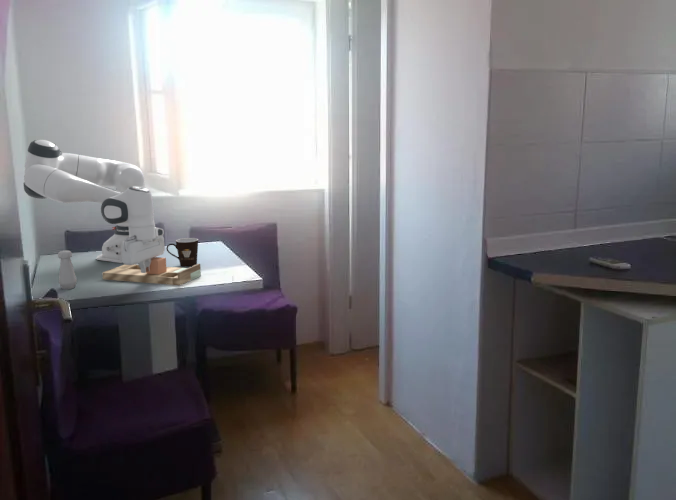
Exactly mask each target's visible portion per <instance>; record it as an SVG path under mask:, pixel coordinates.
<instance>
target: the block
mask: <svg viewBox="0 0 676 500" xmlns="http://www.w3.org/2000/svg"><path fill="white" fill-rule="evenodd" d="M149 267H150V271H149V272H146V273H148V274H161V273H164V272H166V271H167V269H166V267H167V258H166V257H159V256H156V257H154V258H151V264H150V266H149Z"/></svg>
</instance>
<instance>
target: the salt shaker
mask: <svg viewBox="0 0 676 500" xmlns="http://www.w3.org/2000/svg"><path fill="white" fill-rule="evenodd" d="M72 255H73V253H72V251H70V250H67V249H66V250H60V251H59V252H58V253H57V256H58V257H57V258H59V260H60V262H59V263H60V265H59V273H58V284H59V285H60V287H61V289H62V290H72V289H74V288H76V285H77V282H78V279H77V276H76V272H75V270H74V266H73V263H72V260H71V258H72V257H73V256H72Z"/></svg>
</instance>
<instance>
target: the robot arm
mask: <svg viewBox="0 0 676 500" xmlns="http://www.w3.org/2000/svg"><path fill="white" fill-rule="evenodd" d="M23 180H24V182H23V191H24V192H25V193H26V195H28V196H29V197H31V198H35V199H48V200H51V201H52V202H53V201H54V202H56V203H57V202H58V203H62V204H76V203H85V202H86V203H88V202H89V203H98V204H101V206H100V213H101V217H102V218H103V220H104V221H106V222H107V223H108V224H111V225H115V226H112V227H111V230H112V231H114V234H113V235H112V236H110V237H109V238H108V239H107V240H106V241H104V242H103V244H102V247H101V254H99V255H97V256H96V260H97V261H98V260H99V261H105V262H113V263H118V264H123V265H139V267H140V268H141V273H146V272H149V271H150V267H149V266H150V264H151V258H154V257H159V256H162V255H164V253H165V250H166V248H165V238H164V234H165V231H164V229H163V228H161V227H156V223H155V222H156V221H155V220H154V213H155V208H154V206H155V205H154V199H153V196H152V195H153V194H152V192H151V190H150V189H149V188H146V187H145V174H144V172H143V170H142V169H141V168H140V167H139V166H137V165H135V164H132V163H130V162H124V161H119V160H111V159H107V158H106V159H105V158H100V157H94V156H88V155H83V154H77V153H69V152H62V151H61V150H60V148H59V147H58V145H57V144H56V143H54V142H52V141H49V140H47V139H35V140H33V141H31V142H30V143H29V146H28V148H27V155H26V159H25V163H24V176H23Z"/></svg>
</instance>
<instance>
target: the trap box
mask: <svg viewBox="0 0 676 500" xmlns="http://www.w3.org/2000/svg"><path fill="white" fill-rule="evenodd" d="M166 269H167V271H166V272H164V273H161V274H148V273H141V268H140V267H139V265H138V264H134V265H124V264H122V265H120V266H117V267H113V268H111V269H108V270H105V271H103V272H101V273H102V275H101V276H102V280H108V281H119V282H120V281H121V282H133V283H134V282H135V283H145V284H147V283H148V284H157V285H158V284H159V285H172V286H182V285H184V284H186V283H188V281H189V282H191V281H193V280H194V279H197V278H199V277H201V276H202V274H201V273H202V271H201V270H202V269H201V263H197V264H196V265H194V266H192V267H176V266H166ZM190 280H191V281H190Z"/></svg>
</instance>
